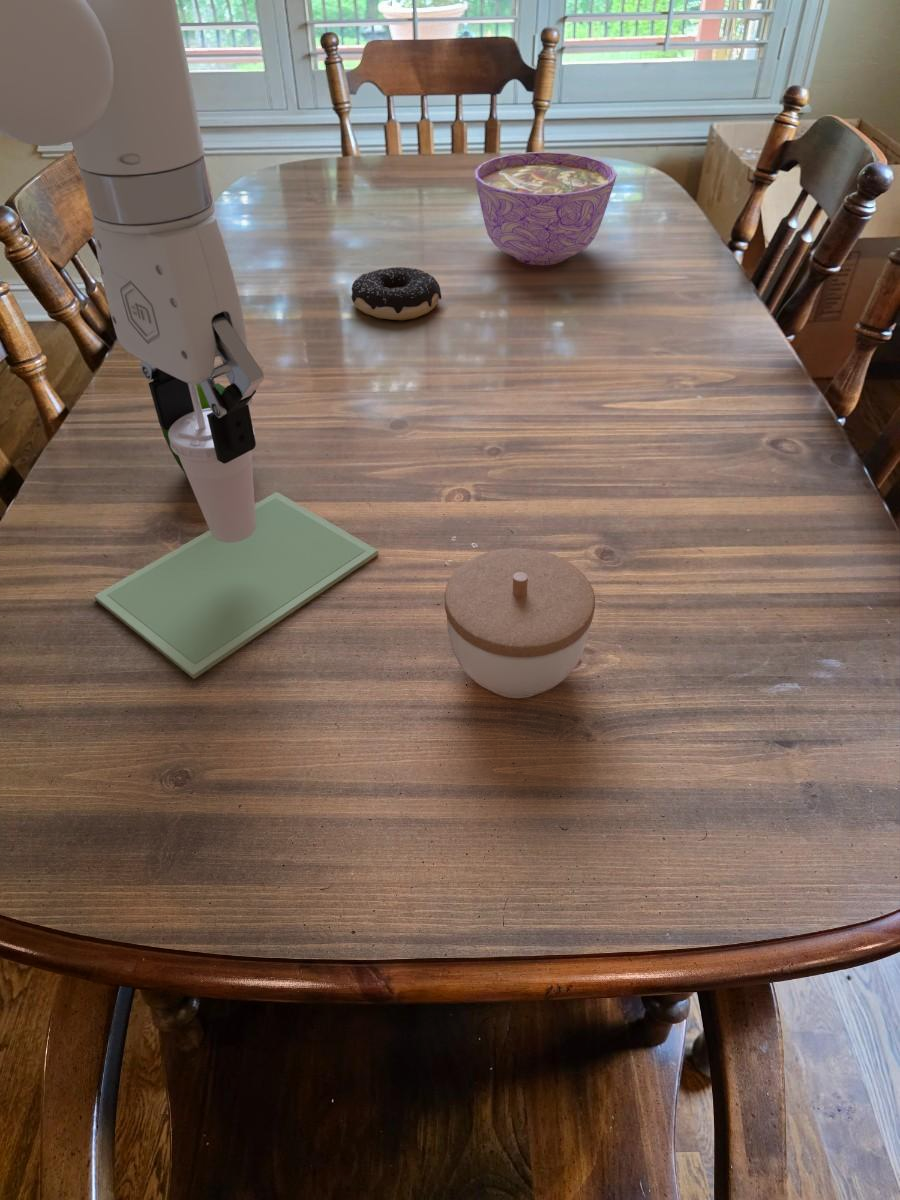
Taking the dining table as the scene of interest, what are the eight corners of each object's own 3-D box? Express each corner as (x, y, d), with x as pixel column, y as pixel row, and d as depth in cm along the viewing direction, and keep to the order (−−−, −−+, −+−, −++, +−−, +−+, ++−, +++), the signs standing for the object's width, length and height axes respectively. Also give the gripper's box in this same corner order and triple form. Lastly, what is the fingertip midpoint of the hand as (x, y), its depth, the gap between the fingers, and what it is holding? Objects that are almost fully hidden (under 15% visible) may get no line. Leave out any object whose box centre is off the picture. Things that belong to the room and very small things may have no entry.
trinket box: (614, 683, 66) (630, 590, 59) (499, 745, 61) (502, 652, 55) (529, 603, 72) (535, 512, 66) (420, 655, 68) (415, 563, 62)
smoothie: (188, 517, 74) (146, 365, 64) (261, 499, 75) (231, 348, 66) (203, 561, 69) (160, 404, 60) (281, 540, 71) (251, 385, 62)
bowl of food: (532, 222, 140) (536, 143, 132) (635, 252, 130) (645, 169, 122) (446, 257, 130) (444, 174, 122) (550, 293, 119) (555, 205, 111)
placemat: (194, 679, 67) (192, 674, 66) (95, 600, 74) (93, 595, 73) (378, 554, 78) (378, 549, 77) (277, 495, 85) (276, 491, 84)
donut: (419, 329, 111) (418, 299, 109) (337, 316, 115) (334, 286, 112) (451, 296, 119) (450, 267, 116) (373, 284, 122) (371, 256, 120)
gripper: (24, 177, 56) (102, 420, 69) (181, 238, 48) (239, 503, 60) (124, 151, 61) (182, 384, 73) (286, 203, 52) (321, 458, 64)
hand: (207, 436), depth 66 cm, fingers closed on smoothie, 6 cm apart
